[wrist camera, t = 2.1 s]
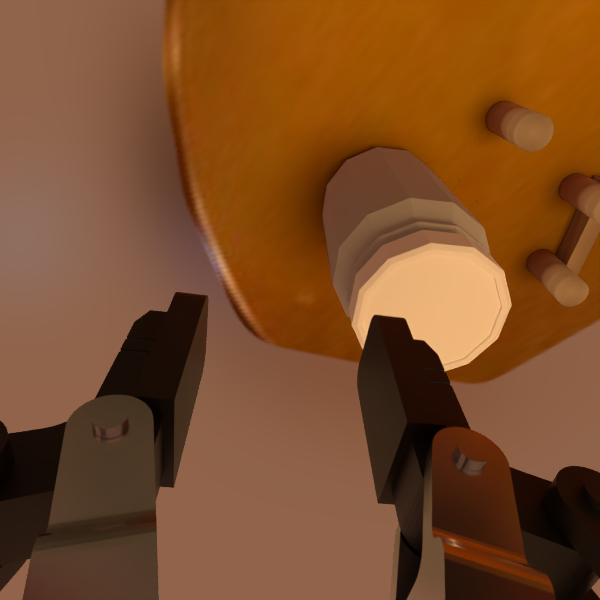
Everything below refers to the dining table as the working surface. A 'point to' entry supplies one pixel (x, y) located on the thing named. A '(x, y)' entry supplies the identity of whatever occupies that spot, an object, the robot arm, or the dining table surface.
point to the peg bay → (574, 189)
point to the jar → (412, 255)
